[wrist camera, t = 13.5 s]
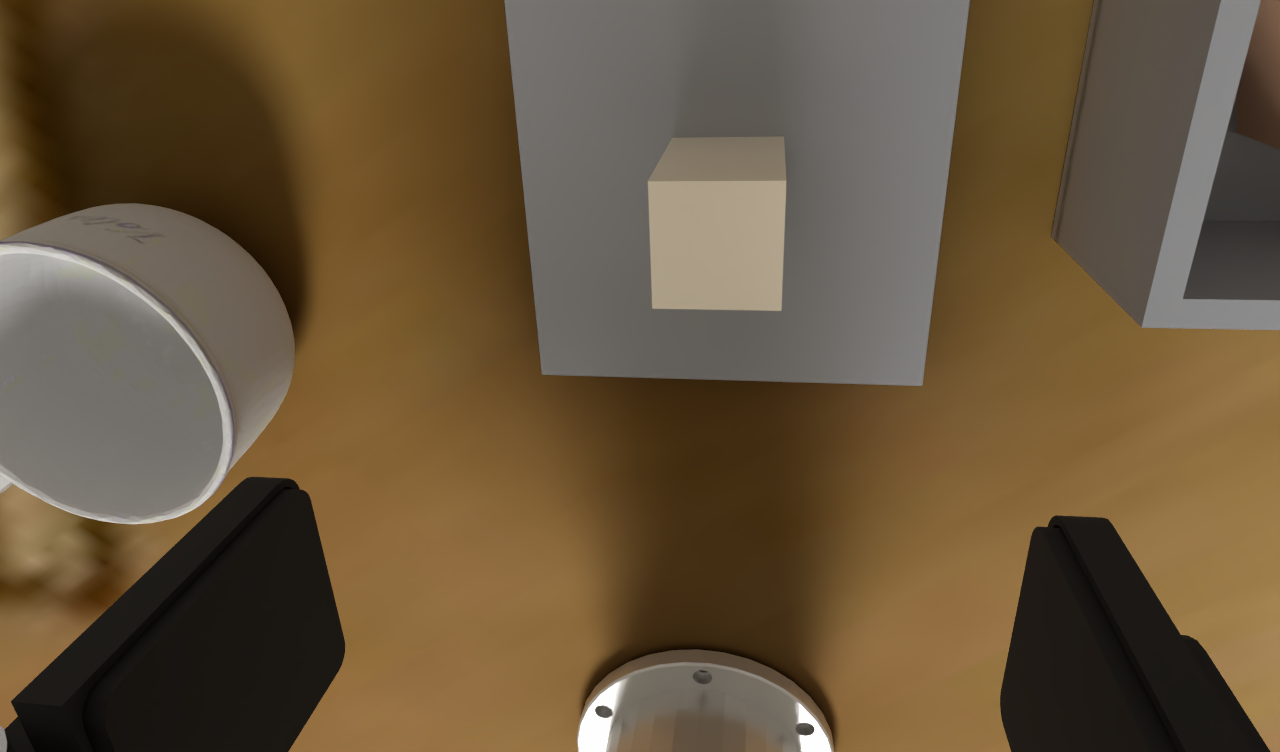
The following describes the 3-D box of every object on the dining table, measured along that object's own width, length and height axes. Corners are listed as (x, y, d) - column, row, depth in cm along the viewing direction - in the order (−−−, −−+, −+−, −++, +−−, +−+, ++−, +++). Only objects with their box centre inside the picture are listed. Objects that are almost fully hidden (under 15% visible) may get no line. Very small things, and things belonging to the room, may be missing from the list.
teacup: (226, 136, 32) (67, 187, 24) (381, 376, 35) (283, 482, 28) (-16, 274, 36) (-211, 351, 29) (146, 475, 40) (9, 588, 32)
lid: (913, 362, 32) (953, 477, 25) (554, 352, 34) (495, 457, 27) (962, -53, 26) (1034, -56, 19) (518, -34, 28) (430, -30, 21)
